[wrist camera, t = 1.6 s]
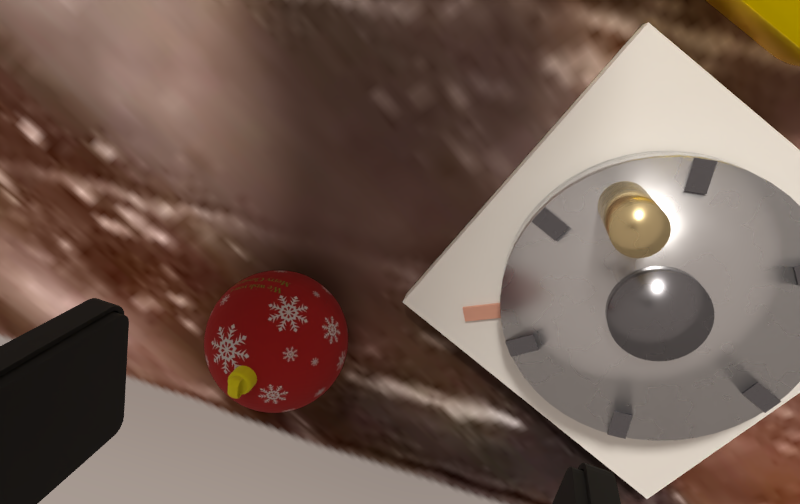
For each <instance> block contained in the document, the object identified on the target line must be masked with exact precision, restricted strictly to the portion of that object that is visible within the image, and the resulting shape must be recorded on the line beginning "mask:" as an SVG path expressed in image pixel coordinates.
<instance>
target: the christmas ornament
mask: <svg viewBox="0 0 800 504" xmlns="http://www.w3.org/2000/svg"><path fill="white" fill-rule="evenodd" d="M347 349H348V329H347V324H346V320H345V317H344V314H343V311H342V309H341V307H340V305H339V304H338V302H337V301H336V299H335V298H334V296H333V295H332V294H331V293H330V292H329V291H328V290H327V289H326V288H325V287H324V286H323V285H321V284H320V283H318V282H317V281H315V280H314V279H312V278H310V277H308V276H305V275H303V274H300V273H296V272H291V271H284V270H274V271H266V272H261V273H257V274H254V275H252V276H249V277H247V278H245V279H243V280H241V281H240V282H238V283H237V284H235V285H234V286H233V287H231V288H230V289H229V290H228V291H227V292H226V293H225V294H224V295H223V296H222V297H221V298H220V300H219V301H218V302H217V304H216V305H215V307H214V309H213V311H212V313H211V315H210V317H209V320H208V323H207V326H206V331H205V337H204V351H205V357H206V362H207V365H208V368H209V371H210V373H211V375H212V377H213V379H214V380H215V382H216V383H217V385H218V386H219V387H220V389H221V390H222V391H223V392H224V393H225V394H226V395H227V396H228V397H230V398H231V399H232V400H234V401H235V402H237V403H238V404H240V405H242V406H244V407H247V408H249V409H252V410H256V411H260V412H268V413H280V412H288V411H292V410H295V409H298V408H301V407H303V406H306V405H308V404H310V403H311V402H313V401H315V400H316V399H317V398H319V397H320V396H321V395H323V394H324V393H325V392H326V391H327V390H328V389H329V388H330V387H331V385H332V384H333V383H334V381H335V380H336V378H337V377H338V375H339V373H340V371H341V369H342V367H343V365H344V362H345V358H346V355H347Z"/></svg>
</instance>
